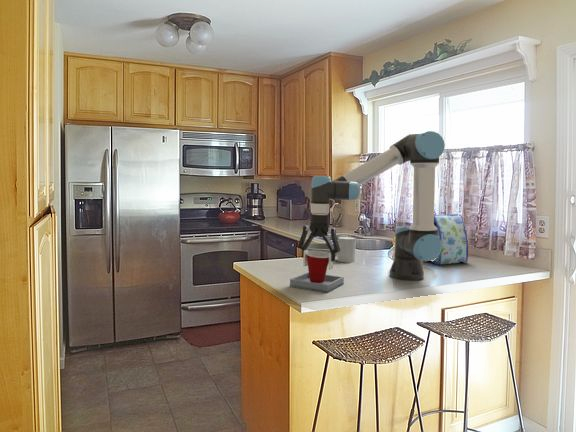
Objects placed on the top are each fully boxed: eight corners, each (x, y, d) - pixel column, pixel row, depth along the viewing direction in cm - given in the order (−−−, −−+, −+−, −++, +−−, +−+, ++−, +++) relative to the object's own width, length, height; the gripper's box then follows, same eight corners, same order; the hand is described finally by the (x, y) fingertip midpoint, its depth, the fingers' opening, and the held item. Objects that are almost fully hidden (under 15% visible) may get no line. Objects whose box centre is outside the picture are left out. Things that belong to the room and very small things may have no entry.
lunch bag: (444, 258, 256) (447, 212, 254) (469, 263, 242) (472, 215, 240) (417, 260, 245) (419, 213, 243) (441, 266, 231) (444, 216, 228)
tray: (343, 284, 188) (343, 277, 187) (327, 292, 173) (327, 285, 173) (308, 278, 195) (308, 272, 195) (289, 286, 181) (290, 279, 181)
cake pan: (350, 254, 261) (350, 246, 261) (322, 259, 244) (322, 250, 243) (318, 248, 278) (319, 241, 278) (290, 252, 261) (290, 244, 261)
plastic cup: (321, 286, 177) (322, 256, 175) (299, 281, 183) (299, 252, 182) (335, 281, 185) (336, 252, 184) (314, 277, 192) (314, 249, 191)
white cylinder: (342, 258, 246) (343, 236, 245) (358, 260, 241) (359, 238, 240) (333, 260, 239) (334, 237, 237) (349, 263, 233) (350, 239, 232)
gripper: (350, 215, 179) (347, 269, 181) (298, 211, 190) (297, 262, 192) (343, 216, 173) (340, 272, 175) (290, 212, 184) (288, 265, 186)
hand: (317, 267), depth 184 cm, fingers closed on plastic cup, 11 cm apart
